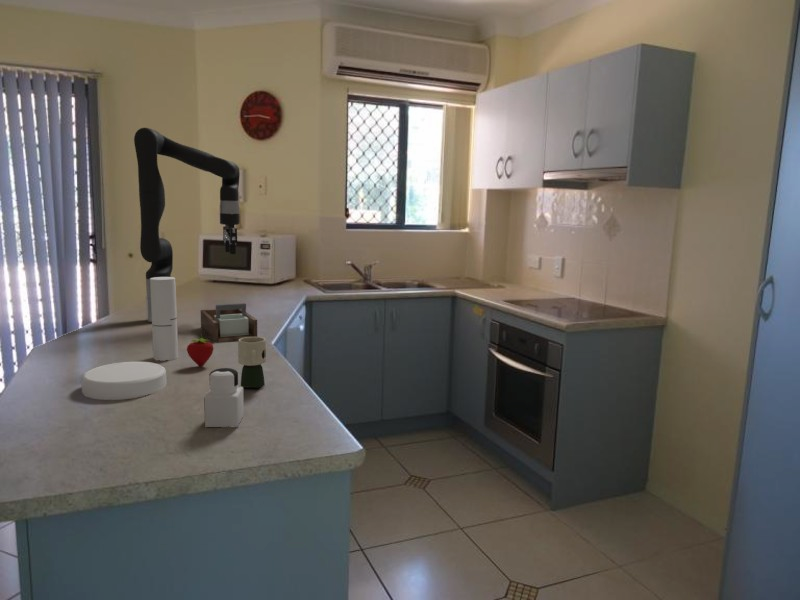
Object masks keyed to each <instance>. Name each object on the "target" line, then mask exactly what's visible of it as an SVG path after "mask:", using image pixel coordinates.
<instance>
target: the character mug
mask: <svg viewBox="0 0 800 600" xmlns="http://www.w3.org/2000/svg"><path fill="white" fill-rule="evenodd" d="M237 343H238V344H237V348H238V349H237V351H238V352H237V353H238V357H237V358H238V364H239V365H242V367H241V368H242V369H241V376H240V387H243V388H251V389H255V388H262V387H264V386H265V385H266V384H265V376H264V368H263V366H262V364H265V363H266V362H267V340H266V338H265V337H262V336H257V337H245V338H241V339H239V340H238V342H237Z"/></svg>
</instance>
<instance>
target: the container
mask: <svg viewBox="0 0 800 600" xmlns="http://www.w3.org/2000/svg"><path fill="white" fill-rule="evenodd" d="M80 383H81V394H82V395H84V396H85V397H86V396H87V398H89V397H90V398H89V399H94V400H101V401H119V400H120V401H121V400H128V399H129V400H130V399H136V398H140V397H146V396H149V395H151V394H155V393H157V391H158V392H160V391H161V390H163V389H164V388H165V387H166V386H167V370H166V368H165V367H164V366H162V365H161V364H159V363H156V362H152V361H151V362H150V361H123V362H122V361H121V362H115V363H108V364H107V363H106V364H104V365H100V366H99V365H98V366H97V367H94V368H92V369H89V370H88V371H86V372H85V373H83V374H82V375H81V381H80ZM159 390H160V391H159ZM148 394H149V395H148ZM145 395H146V396H145Z"/></svg>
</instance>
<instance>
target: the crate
mask: <svg viewBox="0 0 800 600" xmlns="http://www.w3.org/2000/svg"><path fill="white" fill-rule="evenodd" d="M215 309H216V315H214V320H215V321H216V322H217V323H218V335H219V336H220V337H228V336H240V335H249V325H248V318H247V317H246V312H247V303H246V302H243V303H242V302H240V303H239V302H238V303H237V302H236V303H223V304H222V303H220V304H218V303H217V304H215ZM234 309H242V314H228V315H220V310H234Z"/></svg>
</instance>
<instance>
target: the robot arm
mask: <svg viewBox="0 0 800 600" xmlns="http://www.w3.org/2000/svg"><path fill="white" fill-rule="evenodd" d="M133 142H134V147H135V148H134V149H135V154H136V160H137V173H138V195H139V196H138V197H139V208H140V243H139V246H140V247H139V248H140V249H139V251H140V253H141V254H140V255H141V257H142V258H143V259H144V260H145V262H148V263H151V265H150V267H149V269H147V271H146V272H145V285H146V286H145V288H146V290H145V291H146V297H145V301H146V320H147V322H148V323H152V312H151V289H150V278H154V277H171V274H172V272H173V265H174V264H173V259H174V254H173V246H172V244H171V242H170V241H169V240H168V239H166V238H163V237H160V233H159V232H160V223H161V220H162V217H163V214H164V212H165V207H166V195H165V194H166V192H165V186H164V185H165V184H164V182H163V179H162V175H161V174H160V170H159V165H158V155H159V156H165V157H168V158H170V159H171V158H172V159H175V160H177V161H180V162H182V163H184V164H186V165H188V166H191V167H193V168H196V169H198V170H201V171H203V172H208V173H210V174H213V175H215V176H217V177H220V178H221V186H220V189H219V194H220V195H219V224H220V225H224V226H222V233H223V234H222V241H223V242H224V251H225V253H229V254H230V255H236V253H237V248H236V247H237V244H238V241H239V240H238V228H237V227H235V226H236V225H237V226H238V225H240V224H241V223H240V204H239V184H240V174H241V173H240V168H239V166H238V164H237V163H236V162H233V161H230V160H227V159H224V158H221V157H217V156H215V155H214V154H211V153H208V152H206V151H203V150H200V149H198V148H194V147H191V146H188V145H185V144H182V143H178V142H177V141H174V140H173V139H170V138H168V137H167V136H165V135H163V134H162V133H160V132H159V131H157V130H155V129H152V128H149V127H141V128H139V129H137V130H136V132H135V134H134V137H133Z"/></svg>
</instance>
